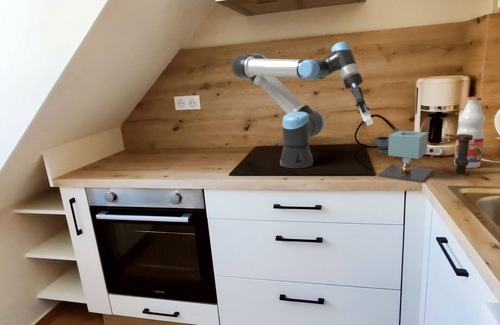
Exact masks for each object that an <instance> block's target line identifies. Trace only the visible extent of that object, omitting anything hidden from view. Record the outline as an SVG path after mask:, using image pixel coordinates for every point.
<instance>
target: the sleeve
mask: <svg viewBox="0 0 500 325" xmlns="http://www.w3.org/2000/svg"><path fill="white" fill-rule="evenodd" d="M428 135H429V132H427V131H424V132H423V131H410V130H400V131H396V132H394V133H393V132H392V133H390V134H388V137H389V145H388V153H387V156H388V157H389V156H390V157H397V158H398V157H399V158H403V157H407V158H411V159H420V158H421V157H423V156H424V155H425V154H427V148H428Z"/></svg>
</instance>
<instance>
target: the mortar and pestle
mask: <svg viewBox="0 0 500 325" xmlns="http://www.w3.org/2000/svg"><path fill="white" fill-rule="evenodd" d="M396 131H401V129H400V130H399V129H398V128H396V127H395V128H394V129H393V131H392V133H394V132H396ZM374 140H375V142H374V143H375V145H376V147H377V148H378V153H380V154H388V145H389V136H377V137H374Z"/></svg>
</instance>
